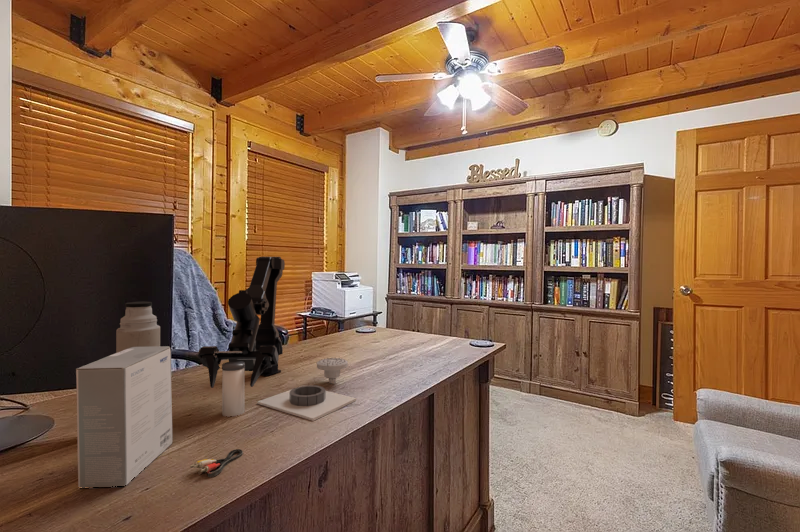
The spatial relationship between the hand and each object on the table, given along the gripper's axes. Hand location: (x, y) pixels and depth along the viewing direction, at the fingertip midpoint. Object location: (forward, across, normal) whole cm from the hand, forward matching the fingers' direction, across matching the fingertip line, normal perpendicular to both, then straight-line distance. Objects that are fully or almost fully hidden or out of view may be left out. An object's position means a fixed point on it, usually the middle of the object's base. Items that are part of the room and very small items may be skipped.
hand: (231, 386), depth 93 cm
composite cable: (+22, -6, +12) cm, 26 cm away
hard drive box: (+21, +11, +11) cm, 25 cm away
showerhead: (-12, -22, -21) cm, 33 cm away
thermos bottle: (+10, +18, 0) cm, 20 cm away
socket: (0, -17, -10) cm, 20 cm away
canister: (+4, 0, -6) cm, 7 cm away
